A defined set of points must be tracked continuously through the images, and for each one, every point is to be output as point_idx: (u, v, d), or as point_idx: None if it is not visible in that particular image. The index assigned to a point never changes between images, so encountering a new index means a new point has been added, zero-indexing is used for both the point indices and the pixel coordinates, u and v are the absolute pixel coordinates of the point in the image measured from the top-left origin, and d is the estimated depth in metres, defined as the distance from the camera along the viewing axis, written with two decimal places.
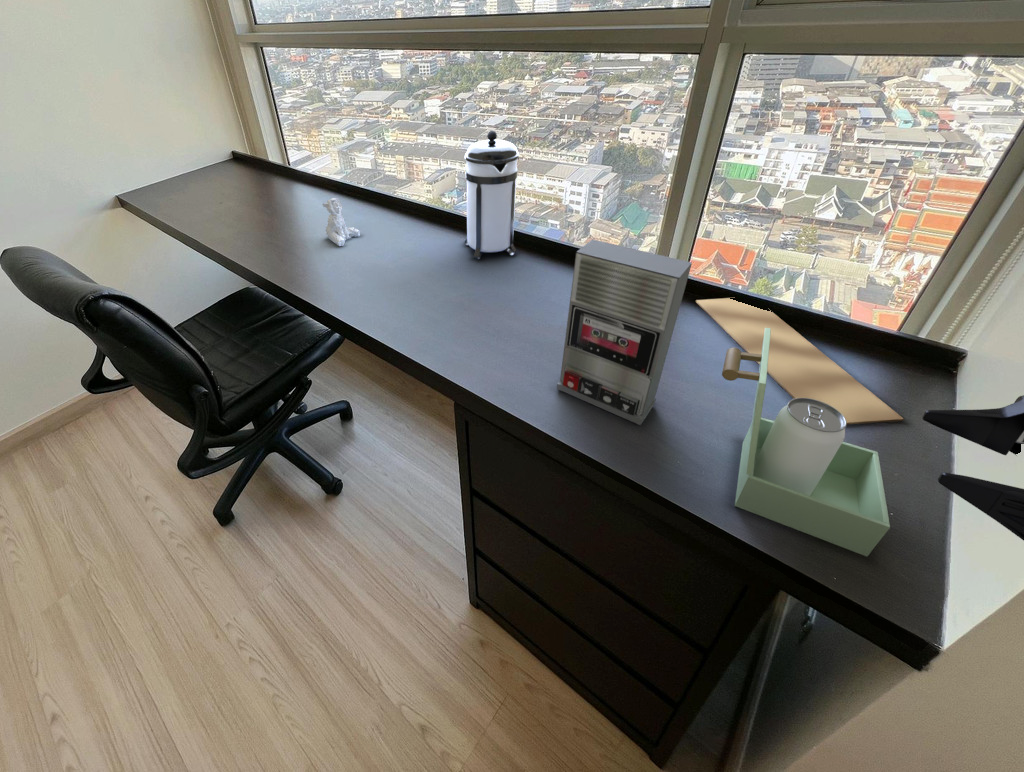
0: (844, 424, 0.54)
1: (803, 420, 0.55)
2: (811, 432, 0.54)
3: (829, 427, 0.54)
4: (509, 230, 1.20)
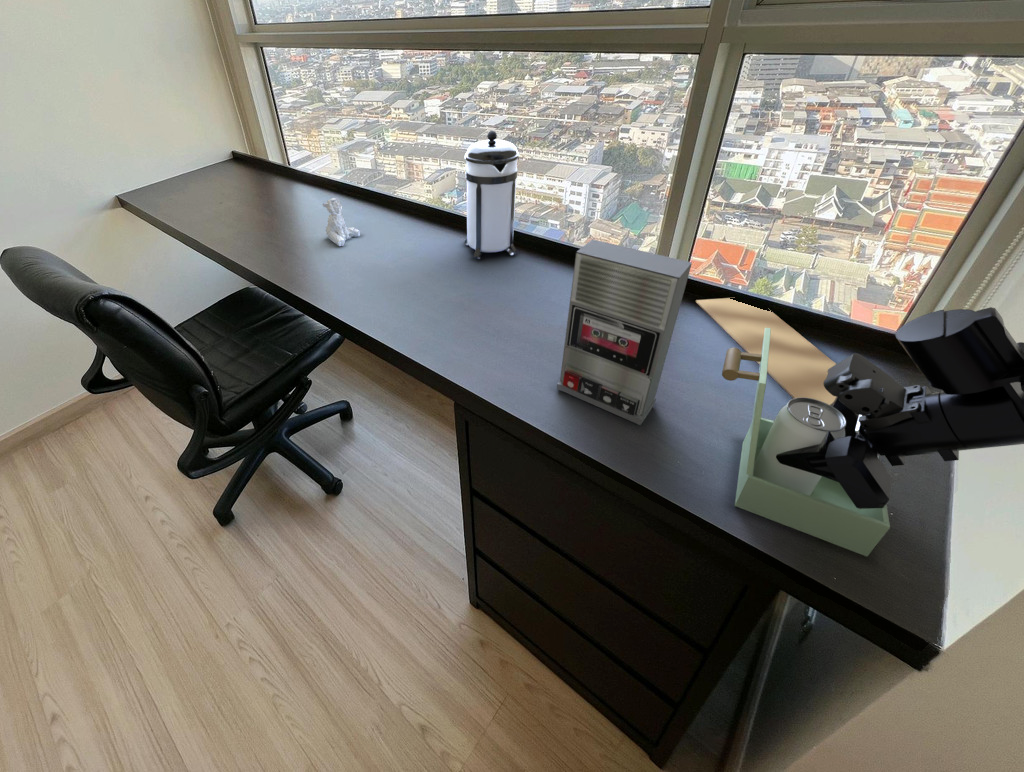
0: (844, 424, 0.54)
1: (803, 419, 0.55)
2: (811, 431, 0.54)
3: (829, 426, 0.54)
4: (509, 230, 1.20)
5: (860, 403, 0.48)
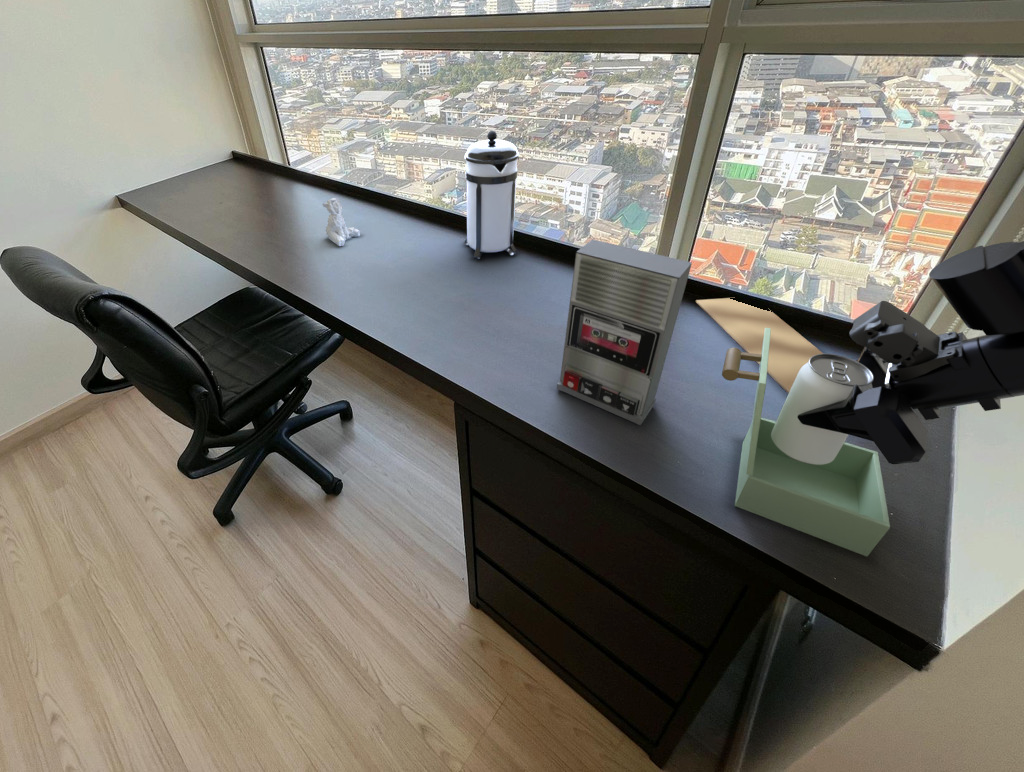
0: (871, 378, 0.51)
1: (827, 375, 0.52)
2: (836, 387, 0.51)
3: (855, 381, 0.51)
4: (509, 230, 1.20)
5: (891, 350, 0.45)
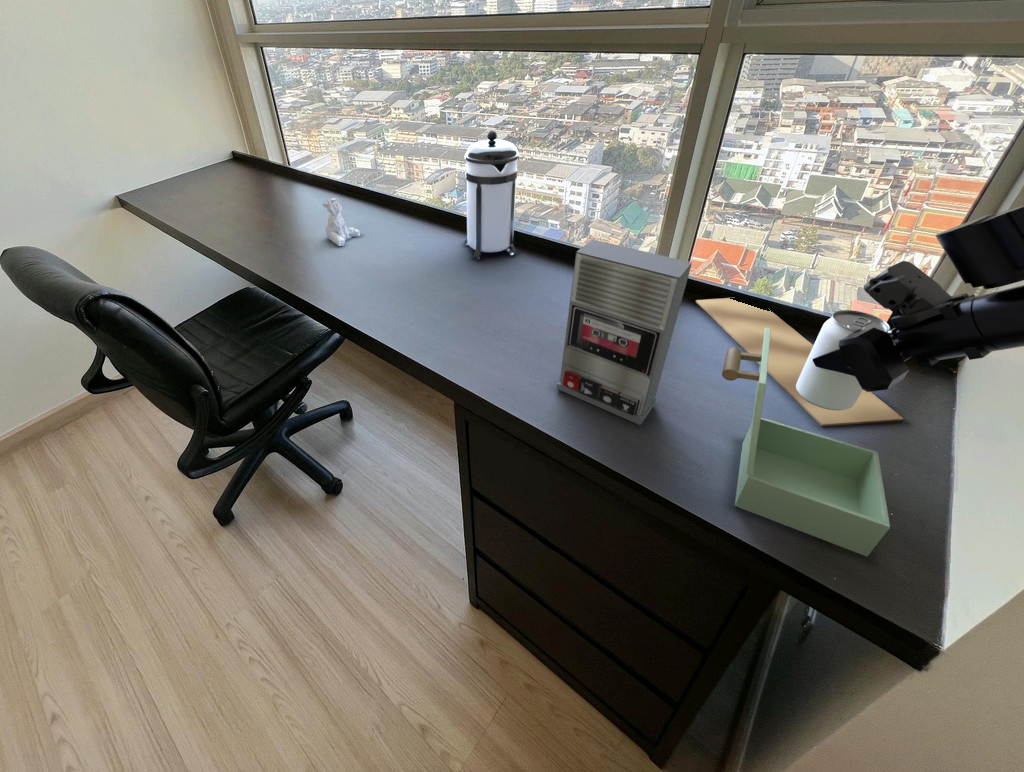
0: None
1: (844, 324, 0.59)
2: (847, 333, 0.58)
3: None
4: (509, 230, 1.20)
5: (887, 296, 0.52)
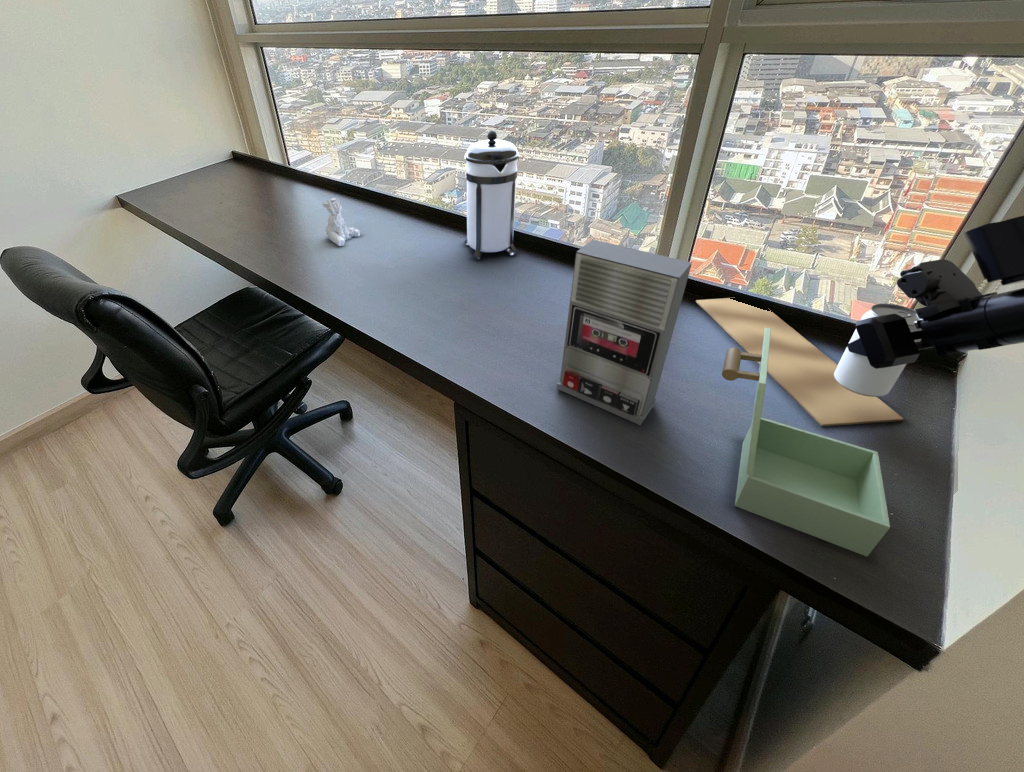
0: None
1: (880, 314, 0.65)
2: None
3: None
4: (509, 230, 1.20)
5: (911, 286, 0.58)
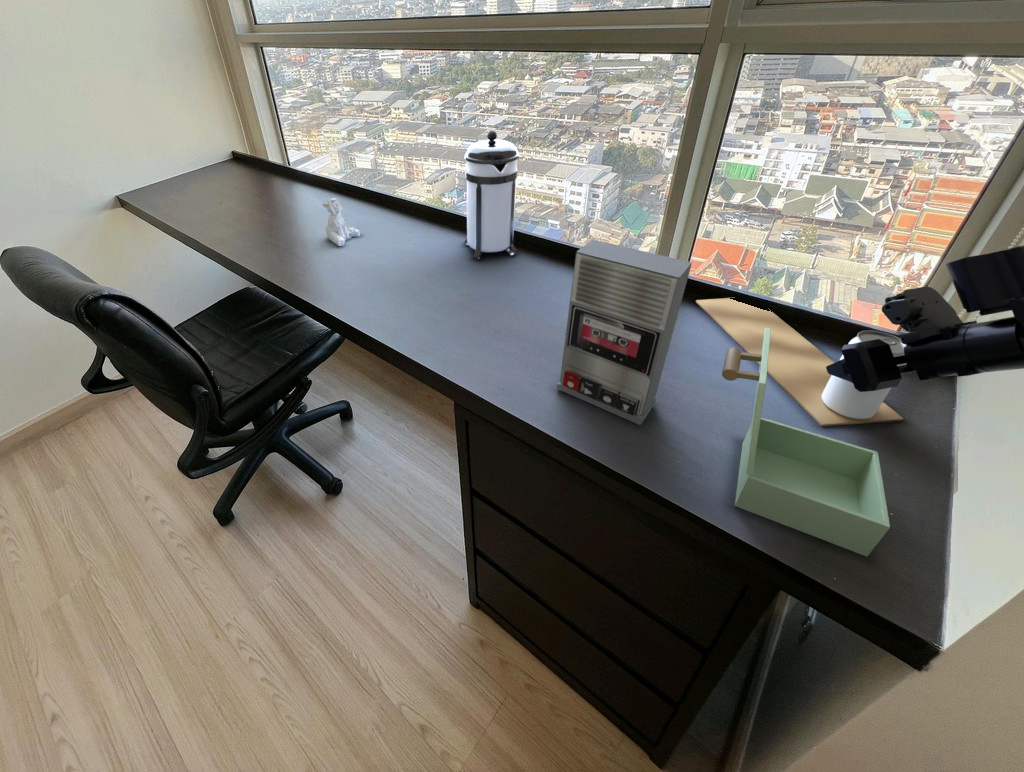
0: (902, 353, 0.64)
1: None
2: None
3: None
4: (509, 230, 1.20)
5: (895, 313, 0.60)
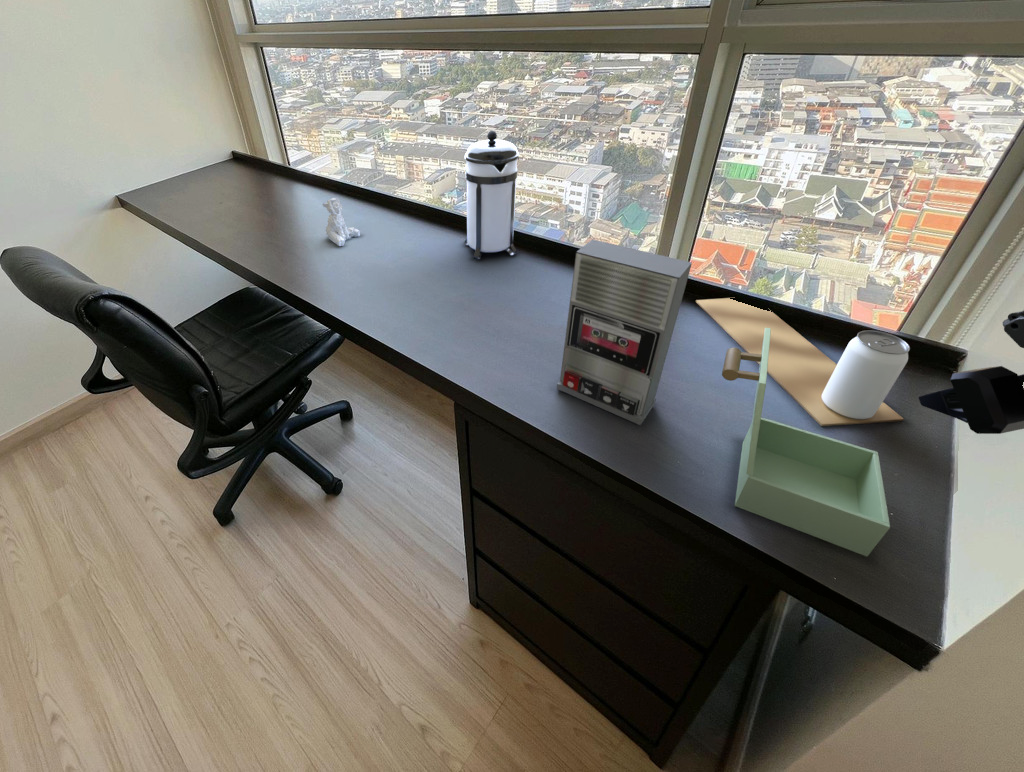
0: (902, 353, 0.64)
1: (865, 341, 0.67)
2: (865, 349, 0.66)
3: (885, 350, 0.65)
4: (509, 230, 1.20)
5: None
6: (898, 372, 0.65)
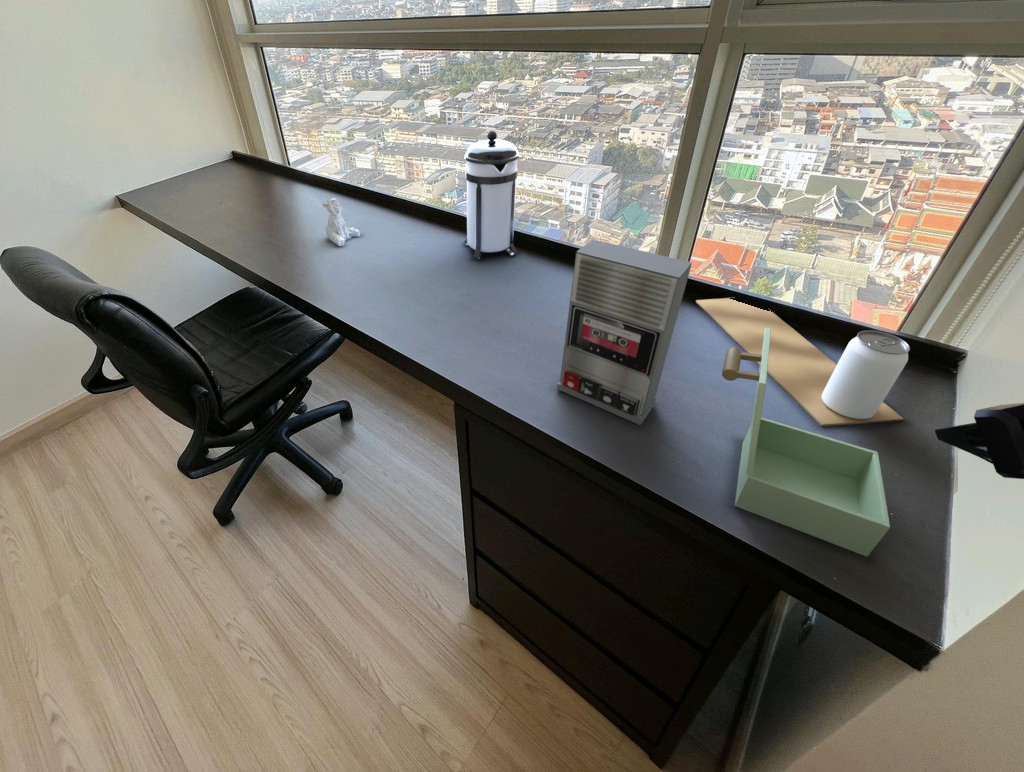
0: (902, 353, 0.64)
1: (865, 341, 0.67)
2: (864, 349, 0.66)
3: (885, 350, 0.65)
4: (509, 230, 1.20)
5: None
6: (898, 372, 0.65)
